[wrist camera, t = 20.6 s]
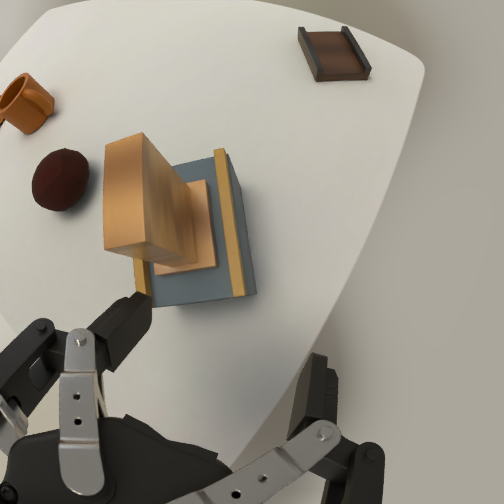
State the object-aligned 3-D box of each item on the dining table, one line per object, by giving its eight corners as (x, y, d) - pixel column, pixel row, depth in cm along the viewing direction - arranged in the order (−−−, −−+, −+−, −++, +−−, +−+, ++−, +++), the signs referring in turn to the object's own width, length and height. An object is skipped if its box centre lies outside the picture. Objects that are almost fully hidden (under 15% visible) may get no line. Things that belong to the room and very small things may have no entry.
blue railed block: (256, 294, 30) (247, 295, 21) (175, 305, 30) (136, 309, 21) (240, 185, 32) (225, 147, 22) (164, 201, 32) (127, 171, 23)
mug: (41, 143, 36) (8, 121, 28) (18, 129, 38) (-9, 111, 29) (69, 101, 37) (41, 74, 28) (43, 93, 39) (18, 71, 30)
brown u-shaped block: (367, 79, 32) (372, 68, 30) (315, 81, 33) (317, 68, 30) (344, 37, 34) (347, 26, 31) (297, 39, 34) (298, 26, 32)
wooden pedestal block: (219, 267, 22) (172, 247, 12) (160, 276, 23) (84, 264, 13) (208, 184, 23) (164, 117, 13) (154, 196, 24) (88, 144, 14)
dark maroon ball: (50, 188, 35) (16, 171, 27) (92, 149, 35) (61, 125, 27) (61, 230, 33) (24, 218, 26) (108, 190, 33) (73, 168, 26)
